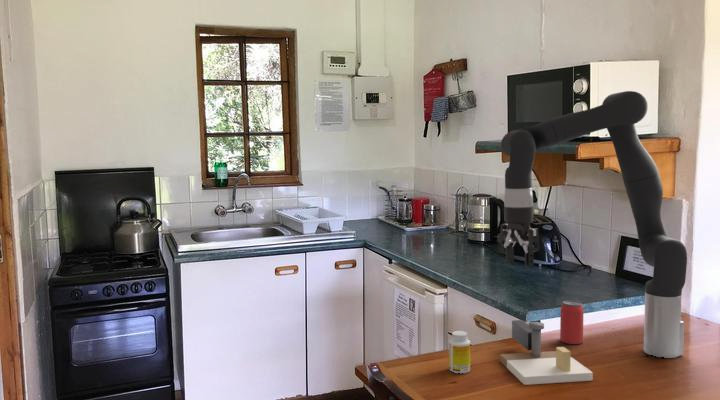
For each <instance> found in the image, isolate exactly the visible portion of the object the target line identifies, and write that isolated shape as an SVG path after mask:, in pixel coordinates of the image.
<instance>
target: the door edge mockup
mask: <svg viewBox="0 0 720 400" xmlns="http://www.w3.org/2000/svg"><path fill="white" fill-rule="evenodd" d="M528 325H529V328H531V329H532V350H531V352H518V353H517V352H515V353H502V354H500V355H499V357H500V359H499V361H500V363H502V364H503V366H504V367H505V368H507V370H508V371H509V372H511V374H513V376H514V377H516V379H518V380H519V382H521V383H522V384H523V386H526V385H539V384H540V385H543V384H556V383H557V384H560V383H573V382H574V383H575V382H588V381H589V382H590V381H593V378H594V377H593V376H594V374H593V373H594V372H592V371H591V370H590V369H589V368H587V367H586V366H584V365H583V364H582V363H581V362H579V361H578V360H576V359H575V358H574V357H572V356H571V355H572V353H571V351H570V350H569V349H567V348H566V347H564V346H556V347H555V349H556V350H551V351H542V349H541V347H542V346H541V345H542V342H541V341H542V330H544V329H545V324H544V323H543V322H541V321H530V322H529V323H528Z"/></svg>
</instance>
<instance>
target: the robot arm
mask: <svg viewBox="0 0 720 400" xmlns="http://www.w3.org/2000/svg"><path fill="white" fill-rule="evenodd" d="M648 107H649V106H648V101H647V99H646V97H645V96H644V95H643V94H642V93H640V92H638V91H633V90H632V91H631V90H626V91H621V92H616V93H611V94H609V95H607V96H606V97H605V98H604V99H603V101H602V104H601V105H598V106H595V107H592V108H589V109H585V110H581V111H577V112H571V113H567V114H564V115H560V116H556V117H554V118H551V119H547V120H544V121H542V122H539V123H538V124H535V125H529V126H527V127H522V128H518V129H515V130H511V131H508V132H507V133H506V134H504V136H503V137H502V139H501V142H500V147H501V150H502V152H503V153H504V154H506V155H507V156H509V164H508V167H507V168H505V173H504V196H503V197H504V198H503V200H504V203H503V204H504V205H503V207H504V208H503V209H504V210H503V211H504V213H503V215H504V217H503V218H504V223H501V224H500V225H499V227H500V230H499V231H500V234H499V243H500V246H503V247H504V249H505V261H506V262H508V263H512V262H514V261H515V249H514V246H515V245H516V243H518V244H519V246H521V247H522V248H523V250H524V267H526V268H531V267H533V266H534V263H535V262H534V253H535V252H538V251H540V238H539V237H540V236H539V234H540V232H539V228H537V227H536V228H531V223H532V222H533V221H534V197H533V196H534V194H533V181H532V180H533V177H532V176H533V175H532V170H533V167H534V162H535V156H536V150H537V149H538V150H539V149H545V148H551V147H554V146H557V145H560V144H563V143H567V142H569V141H572V140H575V139H577V138H579V137H582V136H585V135H588V134H591V133H594V132H597V131H601V130H605V129H607V132H608V135H609V137H610V139H611V142H612V145H613V148H614V151H615V155H616V158H617V162H618V165H619V169H620V173H621V178H622V181H623V185H624V188H625V191H626V194H627V198H628V200H629V205H630V207H631V213H632V215H633V219H634V222H635V226H636V232H637V233H636V234H637V238H638V244H639V250H640V255H641V257H642V260H643V261H644V262H645V263H646V264H647V265H649V266H651V267H653V271H652V275H653V276H652V279H650V280H647V281H646V282H645V285H644V286H645V287H644V321H643V322H644V324H643V325H644V327H643V328H644V329H643V352H644V353H645V354H647V355H650V356H651V355H653V356H652V357H655V356H656V358H661V357H664V359H675V358H678V357H681V356H684V339H685V337H684V335H685V334H684V333H685V332H684V331H685V323H684V321H682V292H683V288H684V286H685V284H686V279H687V278H686V277H687V266H688V253H687V248H686V246H685V244H684V243H682V241H681V240H678V239H676V238H672V237H669V236H667V234H666V233H667V232H666V231H665V227H664V226H663V222H662V216H661V212H662V211H661V209H662V203H663V198H664V196H663V195H664V188H663V184H662V183H663V182H662V179H661V176H660V173H659V170H658V166H657V164H656V163H655V161H654V159H653V158H652V156H651V155H650V153H649V152H648V151H647V150H646V148H645V147H644V145H643V144H642V142H641V141H640V138H639V136H638V132H637V129H636V126H635V124H637V123H639V122H641V121H642V120H643V119H644V118H645V116H646V115H647V112H648V109H649V108H648Z"/></svg>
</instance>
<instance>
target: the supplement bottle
mask: <svg viewBox="0 0 720 400" xmlns="http://www.w3.org/2000/svg"><path fill="white" fill-rule="evenodd" d="M451 335H452V336H451V338H450V339H449V341H448V366H449V367H448V368H449V371H450V372H451V371H452V373H453V372H454V374H458V373H460V374H461V375H463V374H468V373H469V372H470V371H471V341H470V340H469V339H468V332H467V331H465V330H464V331H463V330H456V331H452V333H451ZM462 373H463V374H462ZM460 374H459V375H460Z"/></svg>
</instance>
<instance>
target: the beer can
mask: <svg viewBox="0 0 720 400" xmlns="http://www.w3.org/2000/svg"><path fill="white" fill-rule="evenodd" d="M584 314H585V312H584V307H583V302H580V301H578V300H573V299H572V300H564V301H562V304H561V307H560V326H559V327H560V328H559V331H560V332H559V333H560V334H559V335H560V336H559V339H560V341H561V343H564V344H567V345H581V344H582V343H583V342H584Z"/></svg>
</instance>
